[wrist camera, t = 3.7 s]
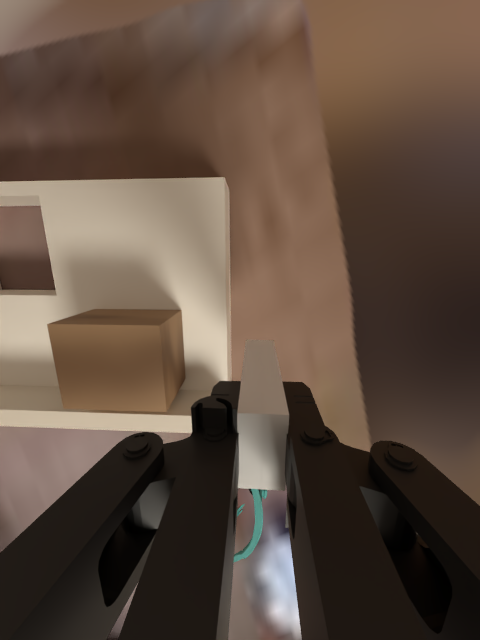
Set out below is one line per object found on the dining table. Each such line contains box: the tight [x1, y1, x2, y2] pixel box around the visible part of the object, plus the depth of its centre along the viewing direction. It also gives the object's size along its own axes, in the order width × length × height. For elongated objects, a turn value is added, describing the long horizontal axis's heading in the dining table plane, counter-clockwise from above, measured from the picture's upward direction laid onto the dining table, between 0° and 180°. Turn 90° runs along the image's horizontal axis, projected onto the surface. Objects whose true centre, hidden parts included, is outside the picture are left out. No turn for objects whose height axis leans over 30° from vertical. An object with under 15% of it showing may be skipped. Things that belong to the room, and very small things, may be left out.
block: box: [47, 309, 186, 412], centre depth 15 cm, size 5×6×4 cm
